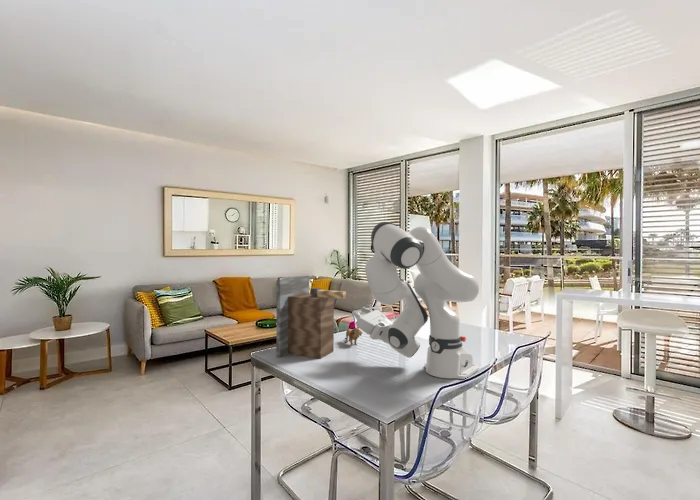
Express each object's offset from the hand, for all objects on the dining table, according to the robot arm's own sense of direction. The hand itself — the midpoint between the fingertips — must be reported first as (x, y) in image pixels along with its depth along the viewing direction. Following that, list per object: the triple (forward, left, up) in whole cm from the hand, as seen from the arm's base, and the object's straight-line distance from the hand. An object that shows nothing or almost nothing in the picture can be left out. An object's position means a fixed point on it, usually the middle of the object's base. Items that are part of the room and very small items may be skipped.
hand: (357, 309), depth 161 cm
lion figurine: (-15, -21, -22) cm, 34 cm away
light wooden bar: (+6, -13, +5) cm, 15 cm away
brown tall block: (+10, -22, -21) cm, 32 cm away
